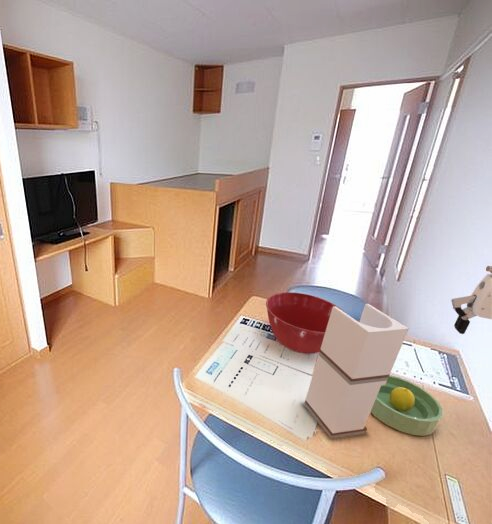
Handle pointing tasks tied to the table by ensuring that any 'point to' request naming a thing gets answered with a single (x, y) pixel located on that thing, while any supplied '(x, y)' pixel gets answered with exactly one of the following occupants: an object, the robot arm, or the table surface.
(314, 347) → the mixing bowl
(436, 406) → the green bowl
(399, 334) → the tall white box
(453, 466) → the table surface
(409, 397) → the lemon
